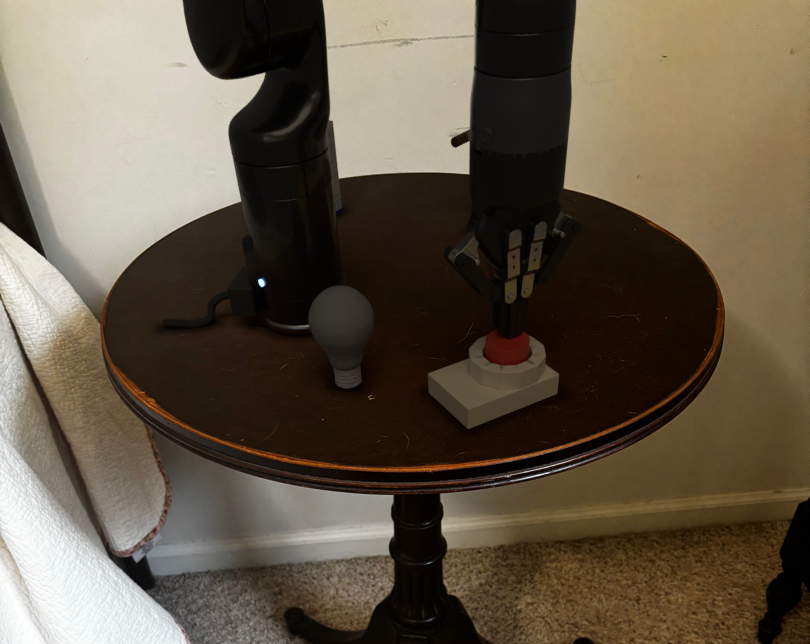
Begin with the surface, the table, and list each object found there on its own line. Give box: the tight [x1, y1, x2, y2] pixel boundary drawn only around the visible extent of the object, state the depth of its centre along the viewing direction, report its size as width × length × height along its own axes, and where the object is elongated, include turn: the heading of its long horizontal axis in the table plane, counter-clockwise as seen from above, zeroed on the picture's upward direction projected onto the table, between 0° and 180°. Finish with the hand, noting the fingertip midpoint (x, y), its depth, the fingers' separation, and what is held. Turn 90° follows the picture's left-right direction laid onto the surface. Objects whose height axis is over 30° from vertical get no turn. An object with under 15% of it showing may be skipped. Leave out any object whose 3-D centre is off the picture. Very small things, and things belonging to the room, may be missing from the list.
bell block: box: [427, 335, 560, 430], centre depth 74 cm, size 10×7×4 cm
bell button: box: [485, 329, 530, 366], centre depth 73 cm, size 4×4×2 cm
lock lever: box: [450, 128, 470, 149], centre depth 95 cm, size 11×5×2 cm, turn 50°
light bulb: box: [308, 285, 375, 389], centre depth 74 cm, size 6×6×10 cm
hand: (508, 333), depth 73 cm, fingers closed
